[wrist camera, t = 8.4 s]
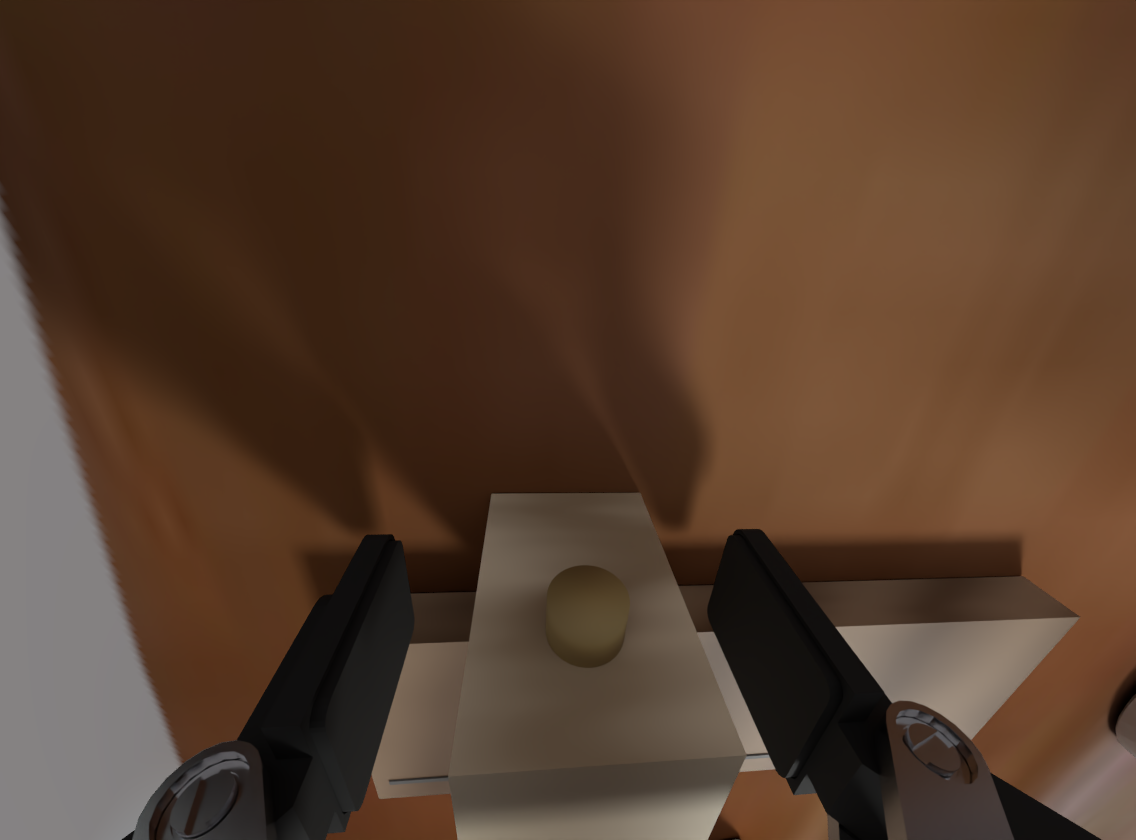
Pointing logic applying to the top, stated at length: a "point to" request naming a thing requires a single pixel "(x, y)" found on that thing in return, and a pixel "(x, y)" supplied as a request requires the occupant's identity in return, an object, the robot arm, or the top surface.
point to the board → (856, 608)
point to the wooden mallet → (585, 683)
